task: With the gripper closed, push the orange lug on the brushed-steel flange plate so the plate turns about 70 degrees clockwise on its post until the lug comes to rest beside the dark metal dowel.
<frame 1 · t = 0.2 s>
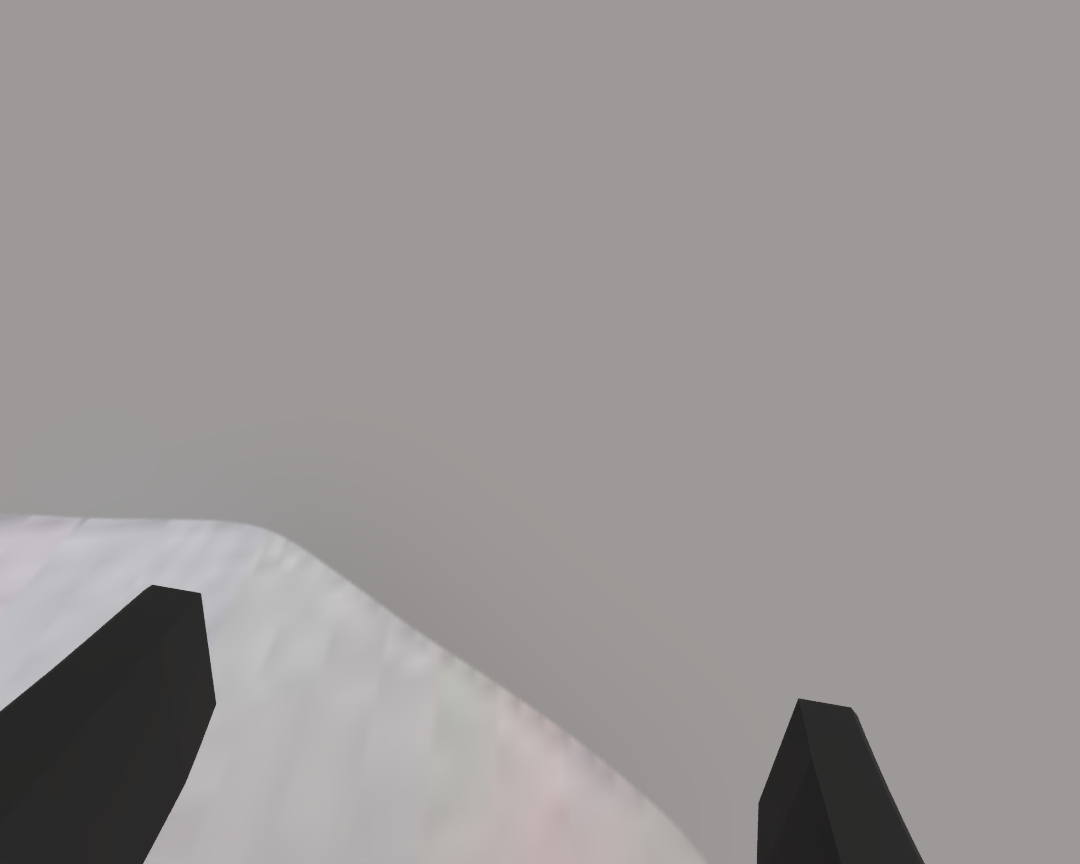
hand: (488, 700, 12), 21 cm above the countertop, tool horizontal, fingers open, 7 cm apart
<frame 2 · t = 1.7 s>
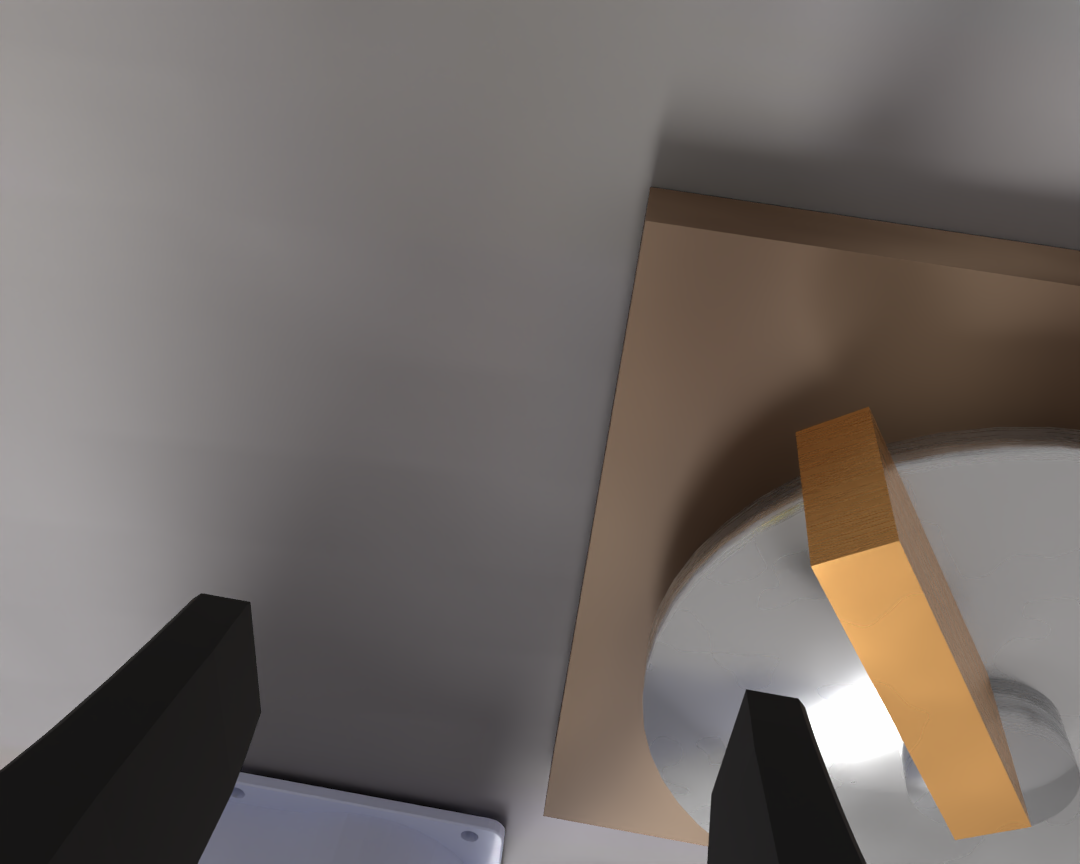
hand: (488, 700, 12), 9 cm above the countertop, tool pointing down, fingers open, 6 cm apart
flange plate: (994, 772, 19), point 5 cm above the countertop, hinge at 0.0°
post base: (943, 600, 23), on the countertop
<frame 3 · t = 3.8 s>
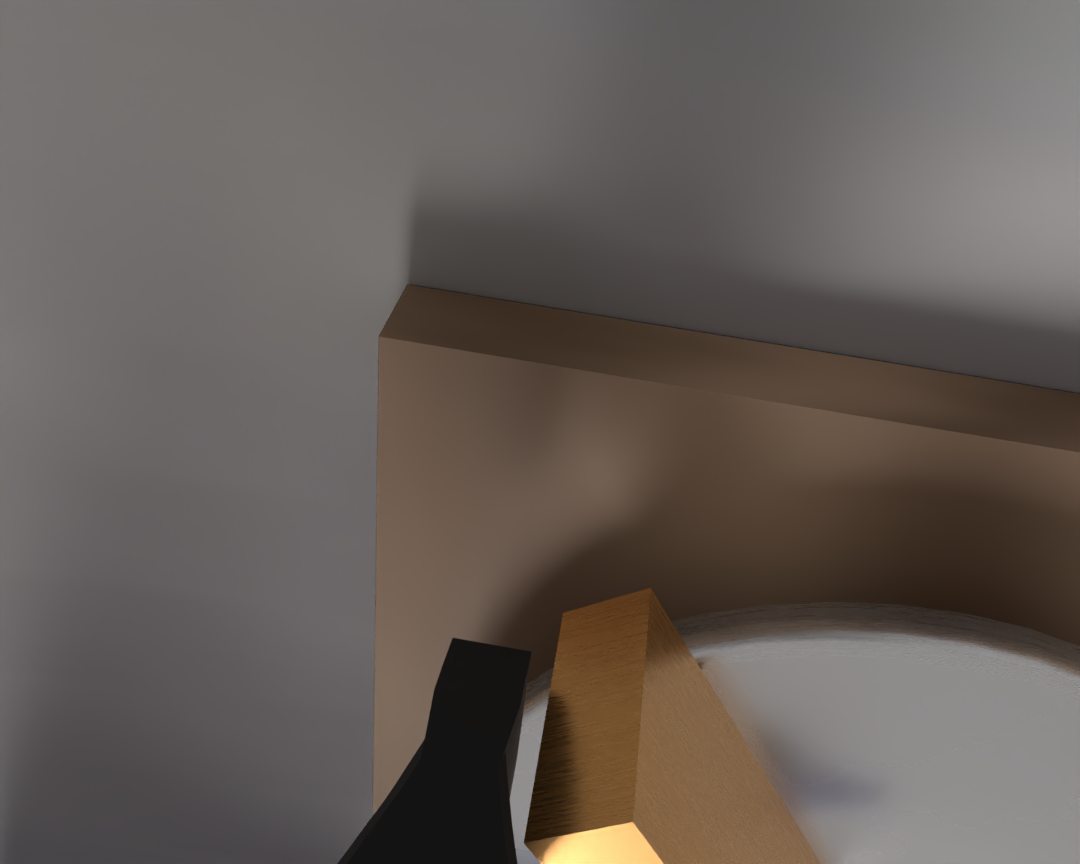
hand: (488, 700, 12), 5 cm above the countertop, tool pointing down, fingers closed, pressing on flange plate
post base: (812, 756, 19), on the countertop
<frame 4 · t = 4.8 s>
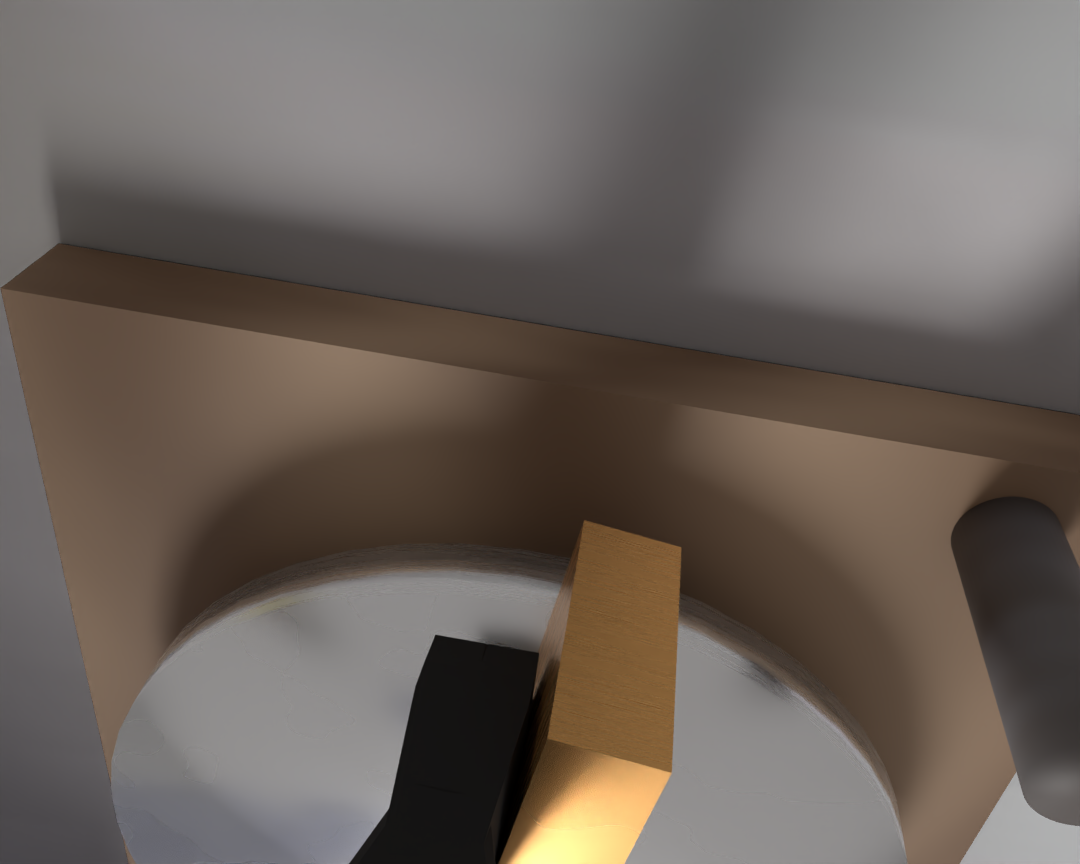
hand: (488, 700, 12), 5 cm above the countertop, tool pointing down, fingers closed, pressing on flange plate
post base: (527, 713, 20), on the countertop
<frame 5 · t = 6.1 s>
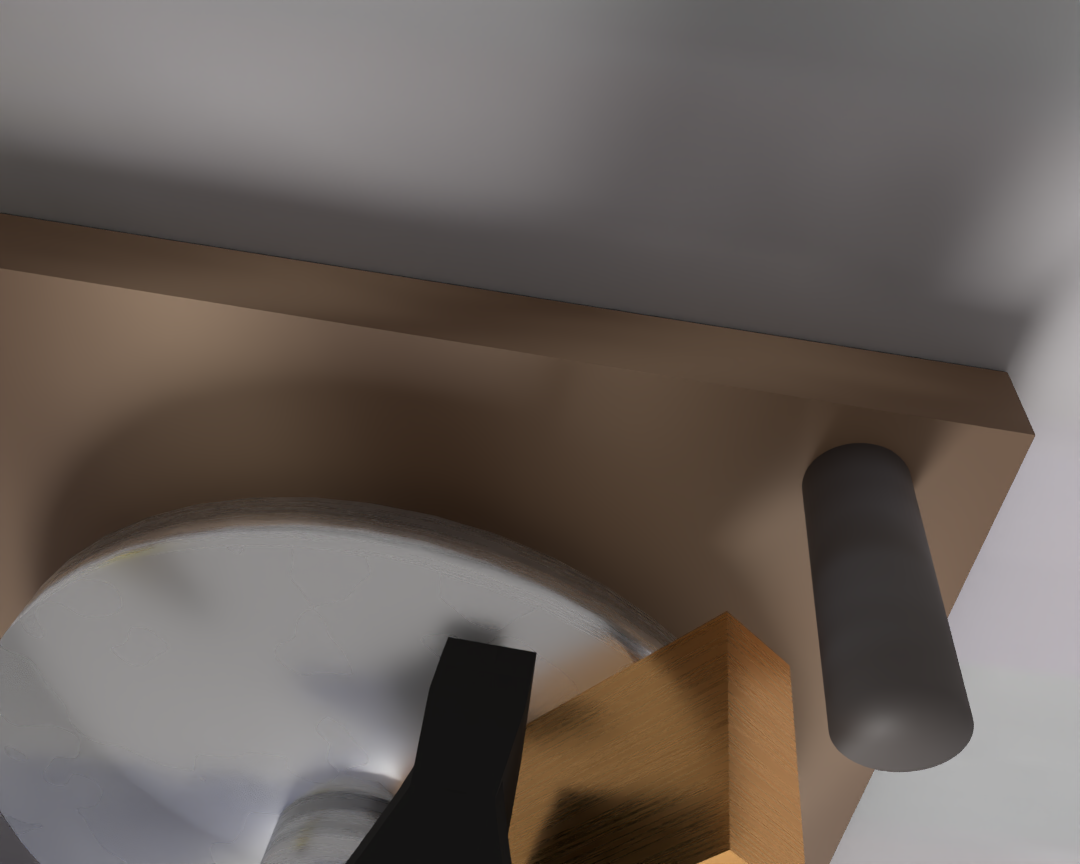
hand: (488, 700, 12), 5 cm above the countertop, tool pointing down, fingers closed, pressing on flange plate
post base: (418, 679, 19), on the countertop
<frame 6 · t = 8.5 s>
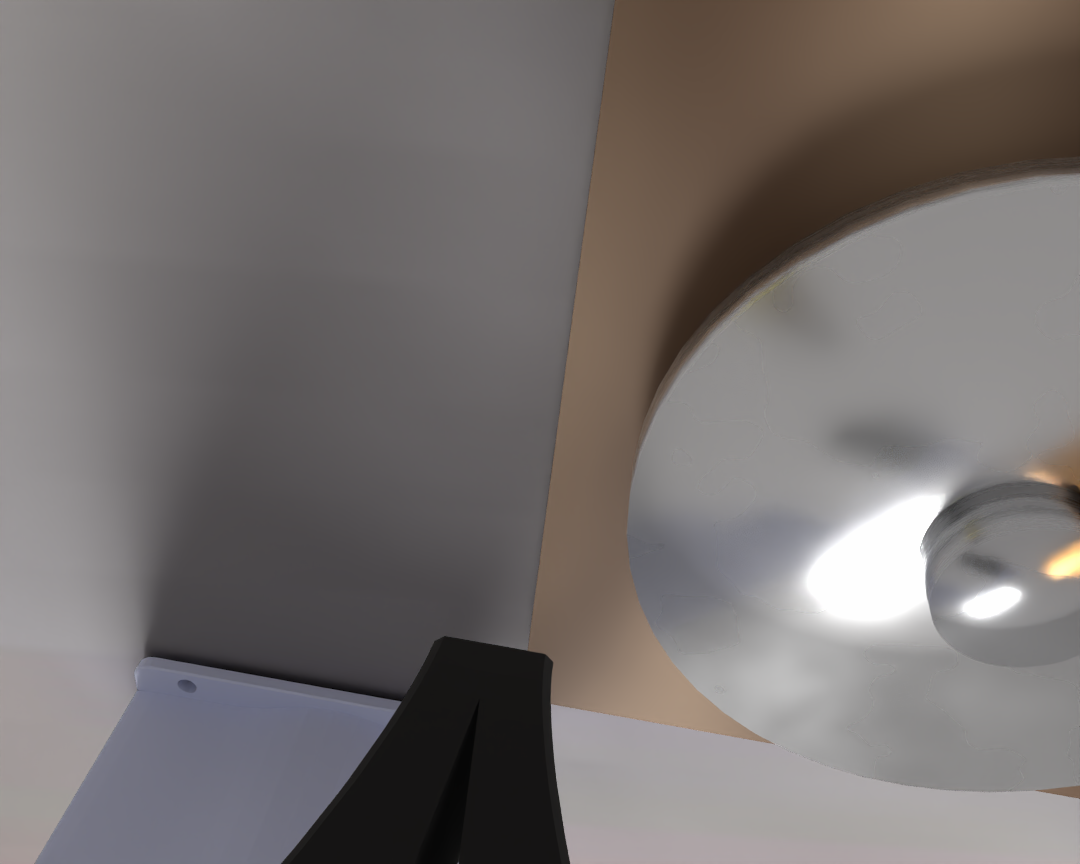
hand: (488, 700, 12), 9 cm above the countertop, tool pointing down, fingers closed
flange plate: (1041, 597, 16), point 5 cm above the countertop, hinge at 73.5°
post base: (968, 430, 20), on the countertop
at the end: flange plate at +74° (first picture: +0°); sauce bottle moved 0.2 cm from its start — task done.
